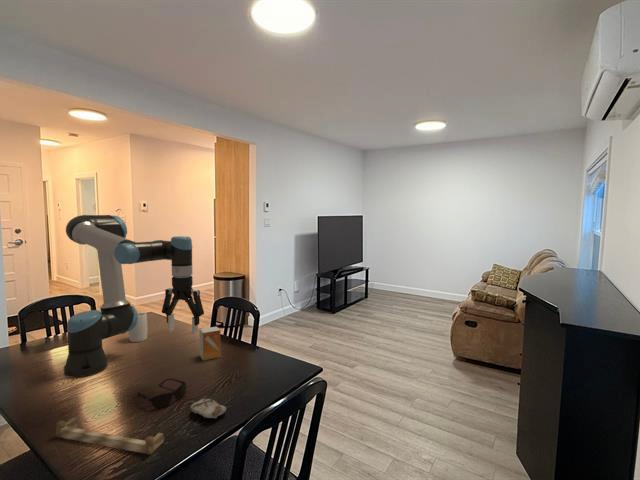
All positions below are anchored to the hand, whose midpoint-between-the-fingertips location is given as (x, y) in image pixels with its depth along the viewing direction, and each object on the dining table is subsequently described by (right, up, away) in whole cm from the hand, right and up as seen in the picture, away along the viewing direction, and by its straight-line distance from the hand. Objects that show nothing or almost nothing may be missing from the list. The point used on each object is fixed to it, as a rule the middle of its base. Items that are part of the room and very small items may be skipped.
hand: (183, 331), depth 135 cm
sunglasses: (-4, -21, -11) cm, 24 cm away
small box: (+3, -18, +24) cm, 30 cm away
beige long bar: (-8, -22, -35) cm, 42 cm away
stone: (+17, -22, -26) cm, 38 cm away
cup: (-40, -17, +42) cm, 61 cm away
